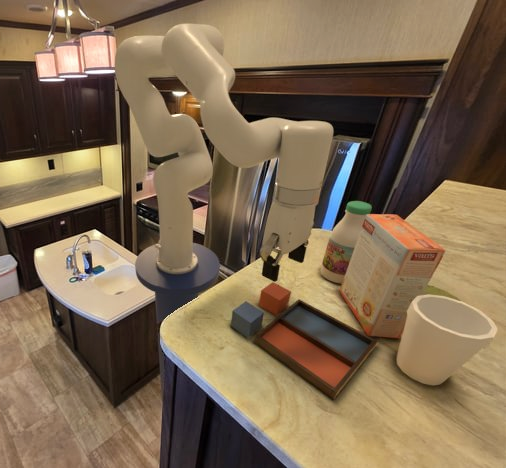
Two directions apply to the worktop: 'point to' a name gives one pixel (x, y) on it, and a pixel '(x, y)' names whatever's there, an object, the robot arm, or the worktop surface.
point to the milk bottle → (344, 241)
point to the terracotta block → (274, 298)
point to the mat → (438, 292)
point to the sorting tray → (316, 346)
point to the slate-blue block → (247, 319)
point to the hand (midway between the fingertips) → (282, 268)
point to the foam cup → (441, 337)
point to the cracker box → (388, 273)
